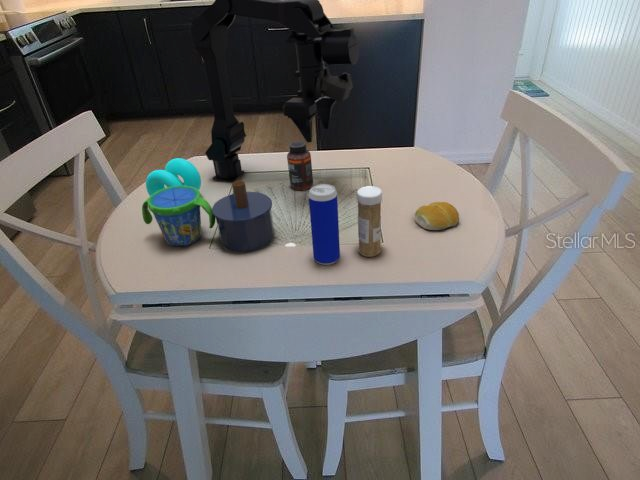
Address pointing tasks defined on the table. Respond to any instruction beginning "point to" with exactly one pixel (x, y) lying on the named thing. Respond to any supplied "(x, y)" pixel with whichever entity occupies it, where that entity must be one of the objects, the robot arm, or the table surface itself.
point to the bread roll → (437, 216)
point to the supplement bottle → (299, 166)
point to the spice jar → (369, 220)
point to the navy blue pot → (246, 234)
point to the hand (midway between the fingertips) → (318, 135)
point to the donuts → (173, 176)
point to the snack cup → (177, 213)
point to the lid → (241, 205)
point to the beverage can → (324, 223)
